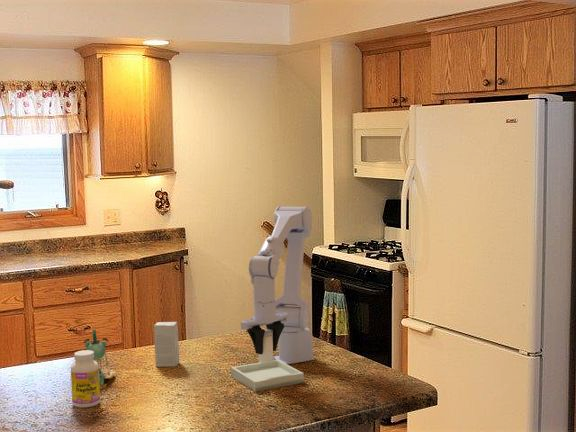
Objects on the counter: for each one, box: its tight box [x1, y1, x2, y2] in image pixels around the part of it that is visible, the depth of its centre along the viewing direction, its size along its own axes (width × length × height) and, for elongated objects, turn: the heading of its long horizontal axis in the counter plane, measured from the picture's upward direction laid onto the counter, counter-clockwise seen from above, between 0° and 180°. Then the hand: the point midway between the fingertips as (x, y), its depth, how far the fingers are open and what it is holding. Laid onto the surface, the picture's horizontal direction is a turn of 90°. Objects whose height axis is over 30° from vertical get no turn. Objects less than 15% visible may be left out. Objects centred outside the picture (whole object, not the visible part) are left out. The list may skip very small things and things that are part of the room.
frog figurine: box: [83, 328, 116, 390], centre depth 212 cm, size 10×18×15 cm, turn 7°
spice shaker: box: [257, 328, 274, 363], centre depth 207 cm, size 4×4×8 cm
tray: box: [230, 359, 305, 393], centre depth 208 cm, size 14×15×2 cm
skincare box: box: [153, 321, 180, 368], centre depth 223 cm, size 6×4×12 cm
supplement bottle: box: [70, 349, 101, 409], centre depth 192 cm, size 7×7×13 cm
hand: (266, 351), depth 207 cm, fingers closed on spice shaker, 4 cm apart
